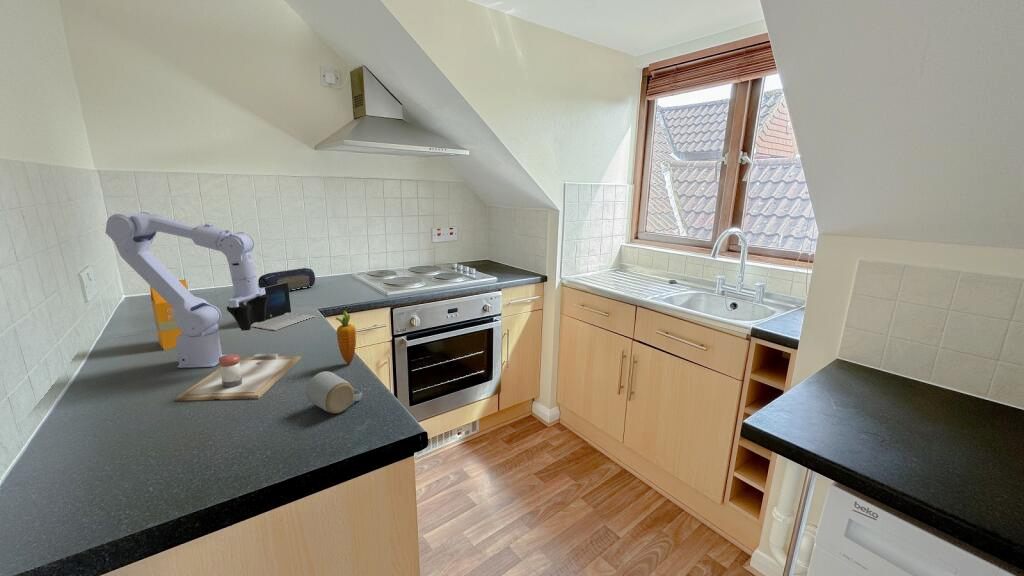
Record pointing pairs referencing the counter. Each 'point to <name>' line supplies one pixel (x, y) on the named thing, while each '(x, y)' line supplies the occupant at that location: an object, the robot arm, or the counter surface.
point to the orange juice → (165, 319)
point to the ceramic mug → (331, 392)
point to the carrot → (346, 338)
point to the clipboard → (243, 379)
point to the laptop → (277, 309)
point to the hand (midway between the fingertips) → (253, 325)
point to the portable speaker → (289, 278)
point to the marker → (230, 370)
